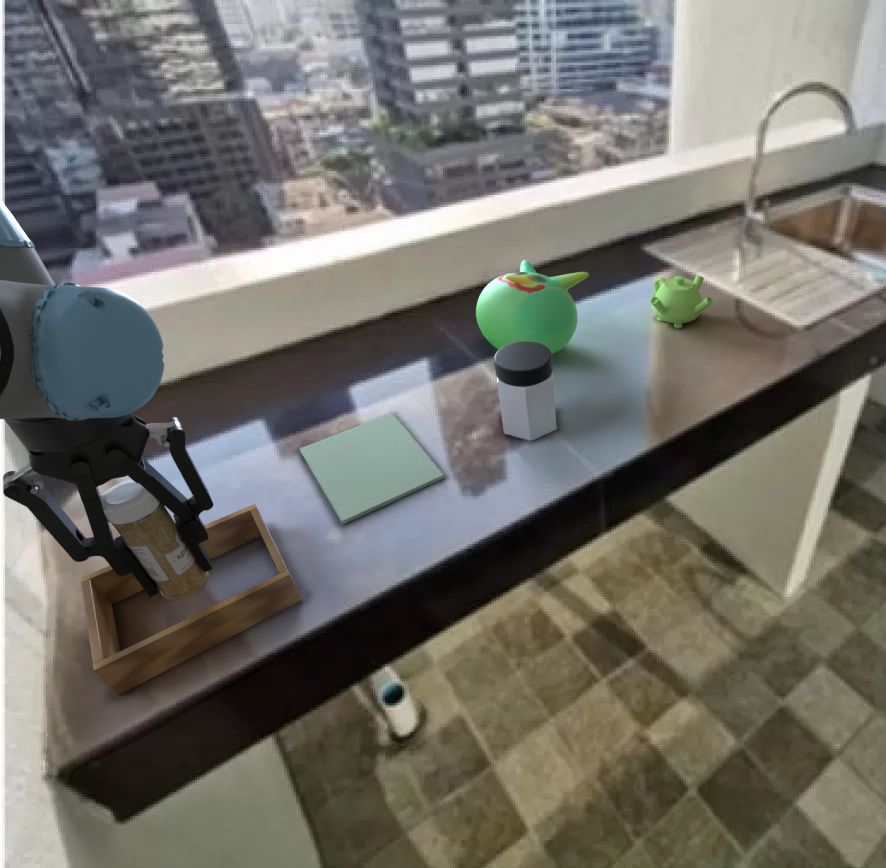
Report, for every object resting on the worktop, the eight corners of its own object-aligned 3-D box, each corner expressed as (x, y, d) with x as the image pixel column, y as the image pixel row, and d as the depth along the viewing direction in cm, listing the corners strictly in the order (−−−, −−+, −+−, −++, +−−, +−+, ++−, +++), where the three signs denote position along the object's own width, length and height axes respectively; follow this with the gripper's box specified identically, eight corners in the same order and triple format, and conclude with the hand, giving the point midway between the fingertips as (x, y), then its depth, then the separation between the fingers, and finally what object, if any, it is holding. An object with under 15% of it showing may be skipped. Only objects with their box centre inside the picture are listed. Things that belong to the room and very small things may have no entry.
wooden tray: (118, 695, 59) (93, 670, 56) (102, 603, 67) (80, 577, 64) (302, 600, 67) (289, 574, 64) (268, 528, 75) (255, 503, 73)
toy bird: (463, 352, 108) (449, 275, 99) (527, 316, 119) (520, 243, 109) (538, 386, 100) (531, 304, 90) (600, 344, 110) (599, 267, 101)
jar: (540, 400, 96) (534, 333, 89) (569, 425, 91) (565, 357, 84) (490, 421, 92) (480, 353, 85) (518, 448, 87) (509, 379, 80)
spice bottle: (216, 585, 64) (158, 493, 56) (168, 610, 62) (101, 518, 54) (202, 561, 67) (145, 470, 59) (156, 584, 65) (90, 492, 56)
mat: (444, 477, 82) (444, 474, 82) (343, 524, 76) (341, 521, 75) (392, 415, 94) (392, 412, 93) (300, 451, 87) (299, 448, 87)
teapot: (645, 305, 122) (647, 265, 116) (702, 304, 122) (706, 264, 116) (649, 332, 113) (651, 291, 108) (710, 332, 113) (715, 290, 108)
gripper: (167, 339, 56) (257, 517, 70) (-85, 408, 47) (77, 594, 62) (182, 373, 51) (276, 556, 65) (-94, 456, 43) (83, 645, 57)
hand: (179, 574), depth 63 cm, fingers closed on spice bottle, 4 cm apart
